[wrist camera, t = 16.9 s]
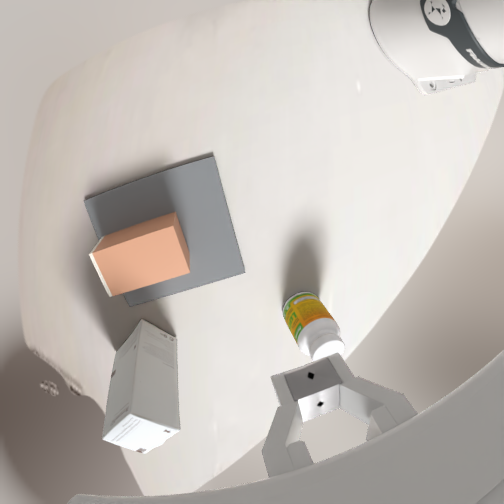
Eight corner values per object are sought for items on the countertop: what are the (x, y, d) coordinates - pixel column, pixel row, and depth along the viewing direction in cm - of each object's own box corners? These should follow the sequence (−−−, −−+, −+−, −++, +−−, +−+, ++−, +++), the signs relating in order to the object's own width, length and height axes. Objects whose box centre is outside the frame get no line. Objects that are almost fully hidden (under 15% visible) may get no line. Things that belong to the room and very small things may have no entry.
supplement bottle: (279, 296, 38) (306, 343, 29) (318, 286, 38) (351, 328, 30) (283, 327, 40) (307, 376, 31) (319, 317, 40) (348, 361, 32)
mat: (213, 156, 29) (213, 156, 29) (244, 271, 35) (245, 272, 35) (84, 200, 28) (83, 201, 27) (130, 305, 34) (129, 306, 33)
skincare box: (141, 316, 35) (128, 409, 21) (180, 338, 37) (184, 430, 24) (114, 353, 36) (98, 440, 23) (149, 372, 39) (146, 457, 25)
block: (173, 225, 26) (88, 254, 25) (190, 272, 28) (109, 297, 27) (175, 211, 30) (102, 236, 29) (189, 252, 32) (118, 275, 31)
